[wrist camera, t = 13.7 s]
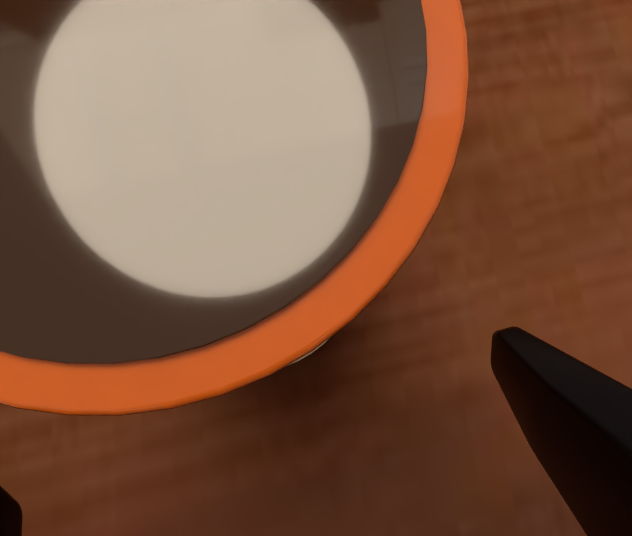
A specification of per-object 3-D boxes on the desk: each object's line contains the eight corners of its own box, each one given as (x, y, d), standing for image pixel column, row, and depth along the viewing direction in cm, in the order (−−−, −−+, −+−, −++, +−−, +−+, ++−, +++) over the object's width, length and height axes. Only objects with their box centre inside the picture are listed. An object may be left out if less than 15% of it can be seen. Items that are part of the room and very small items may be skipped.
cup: (383, 235, 18) (603, -37, 5) (274, 398, 17) (193, 589, 4) (227, 132, 18) (50, -375, 5) (112, 285, 17) (-443, 126, 4)
